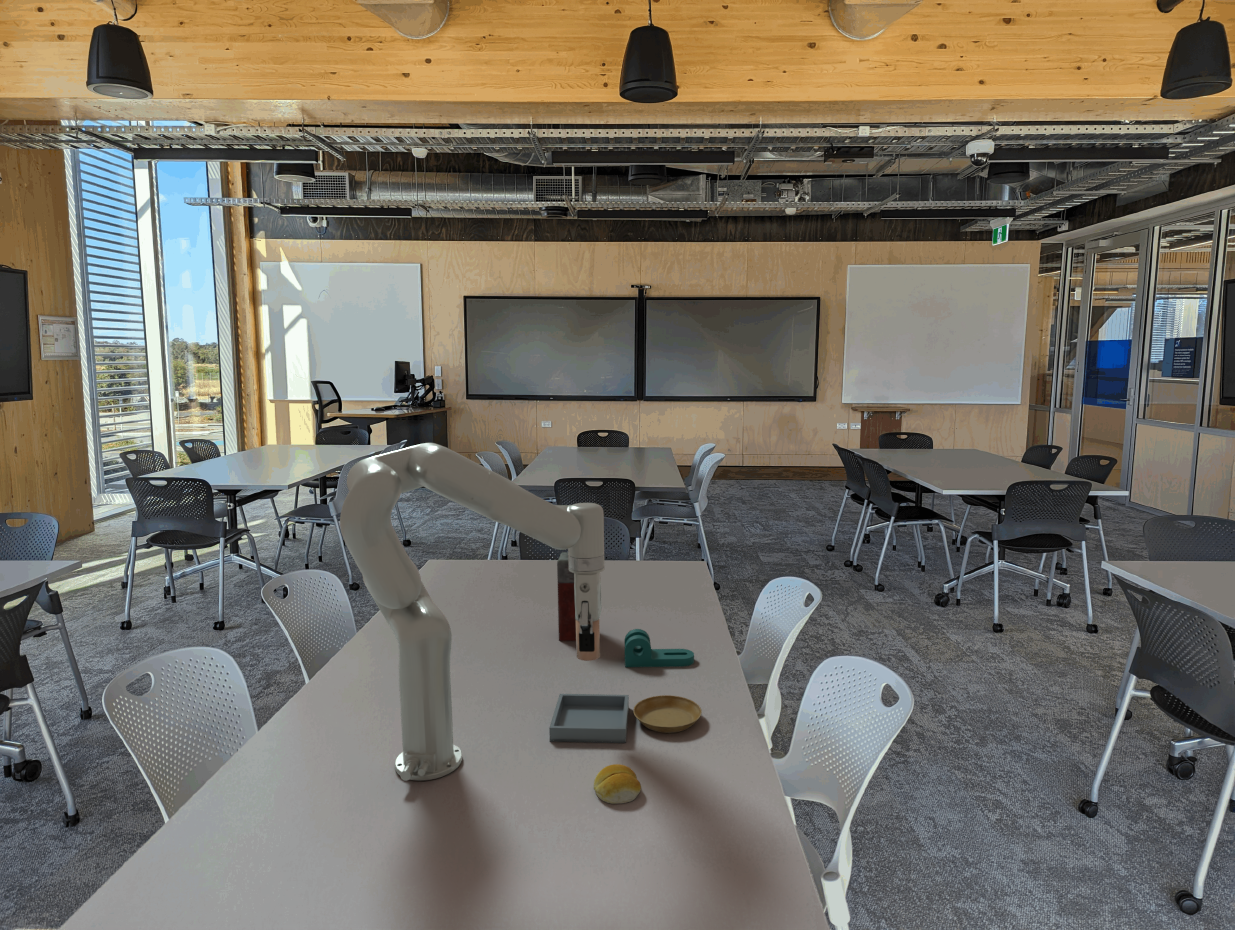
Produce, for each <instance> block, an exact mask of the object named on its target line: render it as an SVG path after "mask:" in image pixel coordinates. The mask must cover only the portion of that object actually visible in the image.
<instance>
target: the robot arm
mask: <svg viewBox="0 0 1235 930" xmlns="http://www.w3.org/2000/svg"><path fill="white" fill-rule="evenodd" d="M346 487H347V490H348V493H347V495H346V496H345V499H344V500H343V502H342V507H341V509H340V510H341V511H340V516H339V519H340V520H339V525H340V526H339V527H340V531H341V535H342V538H343V541H344V544H345V546H346V547H347V549H348V551H349V553H350V554H351V556H352V559H353V560H354V562H355V565H356V566H357V567H358V570H359V571H360V573H361V575H362V580H363V583H364V585H365V587H366V589H367V590H368V592H369V594H370V595H371V598H373V601H374V602H375V604H376V607H378V609H379V610H380V613H381V615H382V616H383V618H384V619H385V621H386V623H387V624H388V626H389V627H390V630H391V631H392V633H393V635H394V638H395V639H396V641H397V644H398V688H399V701H400V703H399V704H400V717H401V718H400V719H401V721H400V724H401V725H400V726H401V742H402V743H401V744H402V752H401V753H399V755H398V756H397V757H396V759H395V761H394V769H395V772H396V773H397V775H399V776H400V778H401V780H403V781H405V782H407V781H430V780H435V779H439V778H442V777H444V776H445V777H446V776H447V775H449V774H451V773H452V772H454V771H455V770H457V769H458V767H459V766H460V765H461V763H462V762H463V761H462V760H463V752H462V750H461V748H460V747H458V745H455V744H454V731H453V730H454V729H453V727H454V726H453V725H454V724H453V702H452V683H451V680H452V678H451V654H452V652H451V651H452V643H453V641H452V640H453V639H452V636H453V635H452V630H451V626H450V625H451V624H450V623H449V620H448V618H447V616H446V615H445V614H444V612H443V611H442V609H441V608H440V607H439V606H438V605H437V604H436V602H434V601H433V599H432V597H431V595H430V594H429V592H428V590H427V588H426V586H425V585H424V583H423V581H422V580H421V579H422V578H421V577H422V576H421V575H420V571H419V569H418V567H417V565H416V564H415V563H414V561H412V559H411V558H410V556H409V555H408V553H407V551H406V550H405V548H404V546H403V544H402V542H401V541H400V537H398V534H397V533H396V531H395V528H394V527H393V524H392V519H391V518H392V511H393V509H394V507H396V504H397V503H398V501H399V499H400V497H401V494H404V493H407V492H410V491H414V490H417V489H420V488H425V489H428V490H429V491H431V492H433V493H436V494H437V495H440V496H441V497H444V498H445V499H446V500H449V501H452V502H455V504H459V505H460V506H462V507H464V508H467V509H468V510H470V511H473V512H475V513H476V514H479V515H481V516H483V517H485V518H487V519H489V520H491V521H493V522H496V523H498V524H501V525H504V526H506V527H509V528H511V529H514V530H516V531H517V532H519V533H521V534H523V535H526V536H528V537H530V538H532V539H533V540H535V541H538V542H540V543H543V544H544V545H547V546H548V547H550V548H552V549H555V550H559V551H560V550H561V551H565V550H567V552H568V562H569V571H570V572H572V573H574V591H575V613H576V618H577V619H578V620H579V621H580V629H579V651H580V652H594V650H595V637H594V632H593V619H596V620H598V619H599V620H600V617H601V612H602V608H603V607H602V606H603V605H602V603H603V602H602V583H601V582H602V579H601V577H602V576H601V573H602V572H604V570H605V533H604V532H605V523H604V522H605V517H604V516H605V515H604V509H603V507H602V506H601V505H600V504H597V503H594V502H578V503H573V504H569V505H566V504H565V505H562V504H553V503H551V502H550V501H547V500H545V499H544V498H542V497H540V496H537V495H536V494H534V493H532V492H530V491H529V490H527V489H525V488H523V487H521V486H519V484H517V483H515V482H514V481H512V480H510V479H509V478H507V477H505V476H503V475H501V474H499V473H497V472H495V471H494V470H491V469H489V468H487V467H486V466H483V465H481V464H480V463H477V462H476V461H474V460H472V459H470V458H468V457H466V456H464V455H462V454H460V453H458V452H456V450H455V451H454V450H453V449H450V448H449V447H446V446H443V445H441V444H438V443H435V442H425V443H424V442H423V443H420V444H416V445H411V446H408V447H405V448H401V449H398V450H393V451H390V452H386V453H381V454H379V455H373V456H371V457H366V458H363V459H361V460H360V461H357V462H356V463H355V464H353V466H352V467H351V468H350V469H349V471H348V473H347V477H346ZM588 607H589V608H588ZM588 616H591V618H588ZM588 621H590V624H588Z"/></svg>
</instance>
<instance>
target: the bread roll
mask: <svg viewBox="0 0 1235 930" xmlns="http://www.w3.org/2000/svg"><path fill="white" fill-rule="evenodd" d="M641 785H642V784H641V783H640V781H639V779H638V778H637V774H636V773H635V771H634V770H633V769H632V768H631V767H629V766H627V765H625V764H620V763H615V764H609V765H607V766H605V767H603V768H602V769H601V770H600V771H598V773H597V775H596V776H595V778H594V781H593V790H594V792H595V794H596V796H597V797H598V798H599V799H600V800H601V802H602V801H603V802H604V803H608V804H612V805H617V804H625V803H630V802H633V801H634V800H635V799H636V798H637V797H638V796H639V794H640V792H641V790H642V786H641Z"/></svg>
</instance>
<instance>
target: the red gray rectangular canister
mask: <svg viewBox="0 0 1235 930" xmlns="http://www.w3.org/2000/svg"><path fill="white" fill-rule="evenodd" d="M556 569H557V571H556V573H557V574H556V575H557V576H556V577H557V579H556V580H557V611H558V615H557V616H558V617H557V619H558V620H557V621H558V622H557V623H558V624H557V625H558V641H560V642H576V619H575V591H574V573H572V572H570V571H569V562H568V551H566V552H560V555H559V557H558V560H557V562H556Z"/></svg>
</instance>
